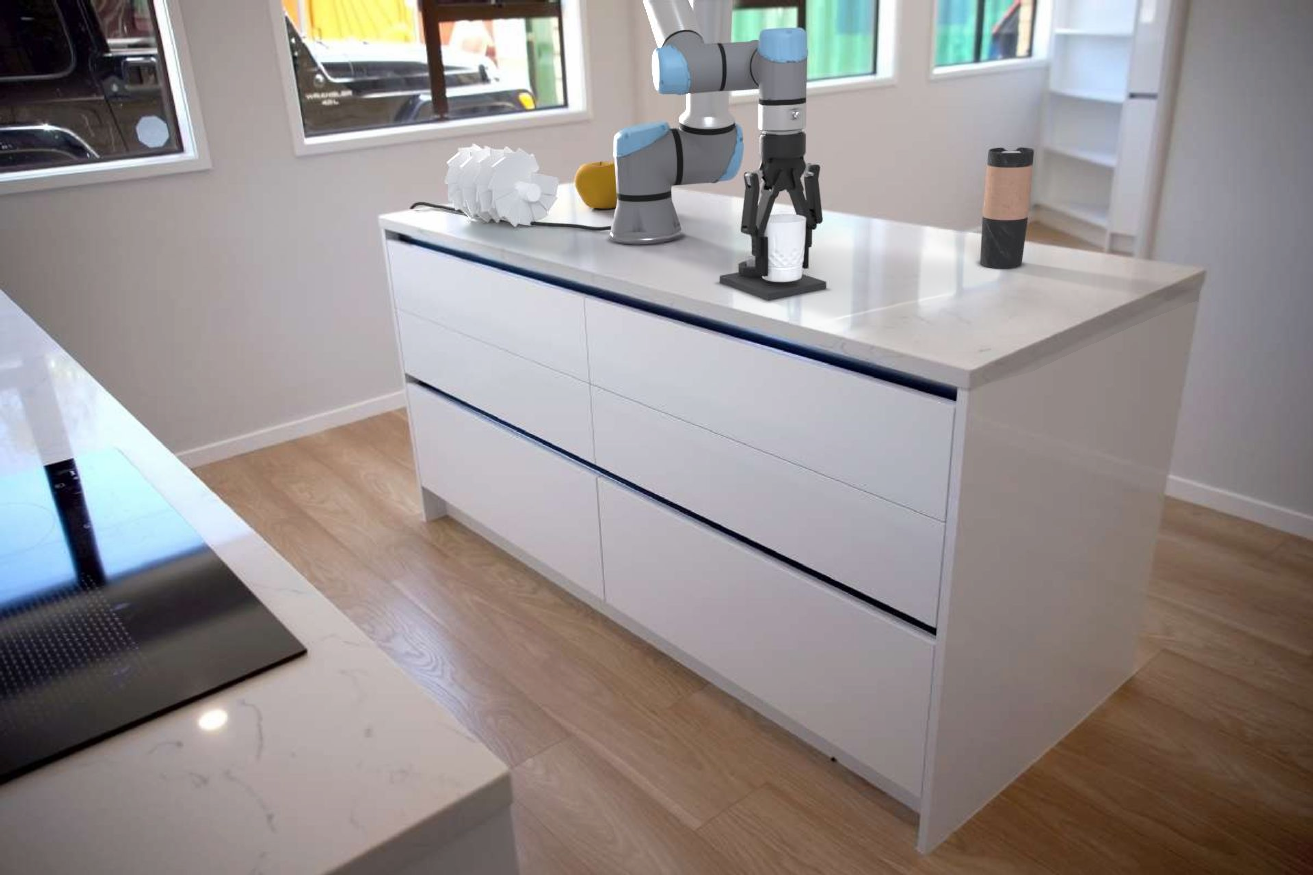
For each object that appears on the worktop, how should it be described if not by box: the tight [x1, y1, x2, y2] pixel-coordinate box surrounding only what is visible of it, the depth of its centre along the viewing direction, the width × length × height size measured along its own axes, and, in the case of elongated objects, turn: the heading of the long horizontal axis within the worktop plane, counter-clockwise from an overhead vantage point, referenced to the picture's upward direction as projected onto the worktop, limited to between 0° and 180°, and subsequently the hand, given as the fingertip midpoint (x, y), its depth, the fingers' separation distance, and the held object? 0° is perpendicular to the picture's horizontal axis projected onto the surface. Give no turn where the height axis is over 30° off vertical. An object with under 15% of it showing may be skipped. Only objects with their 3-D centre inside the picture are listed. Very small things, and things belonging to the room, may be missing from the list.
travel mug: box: [979, 146, 1035, 270], centre depth 176 cm, size 8×8×20 cm
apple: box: [573, 160, 617, 210], centre depth 247 cm, size 13×13×11 cm
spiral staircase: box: [443, 142, 560, 228], centre depth 235 cm, size 18×18×25 cm
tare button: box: [746, 255, 755, 267], centre depth 176 cm, size 3×3×2 cm
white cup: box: [762, 213, 806, 282], centre depth 168 cm, size 8×8×10 cm
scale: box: [719, 260, 827, 302], centre depth 173 cm, size 16×12×3 cm
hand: (782, 270), depth 169 cm, fingers closed on white cup, 8 cm apart
